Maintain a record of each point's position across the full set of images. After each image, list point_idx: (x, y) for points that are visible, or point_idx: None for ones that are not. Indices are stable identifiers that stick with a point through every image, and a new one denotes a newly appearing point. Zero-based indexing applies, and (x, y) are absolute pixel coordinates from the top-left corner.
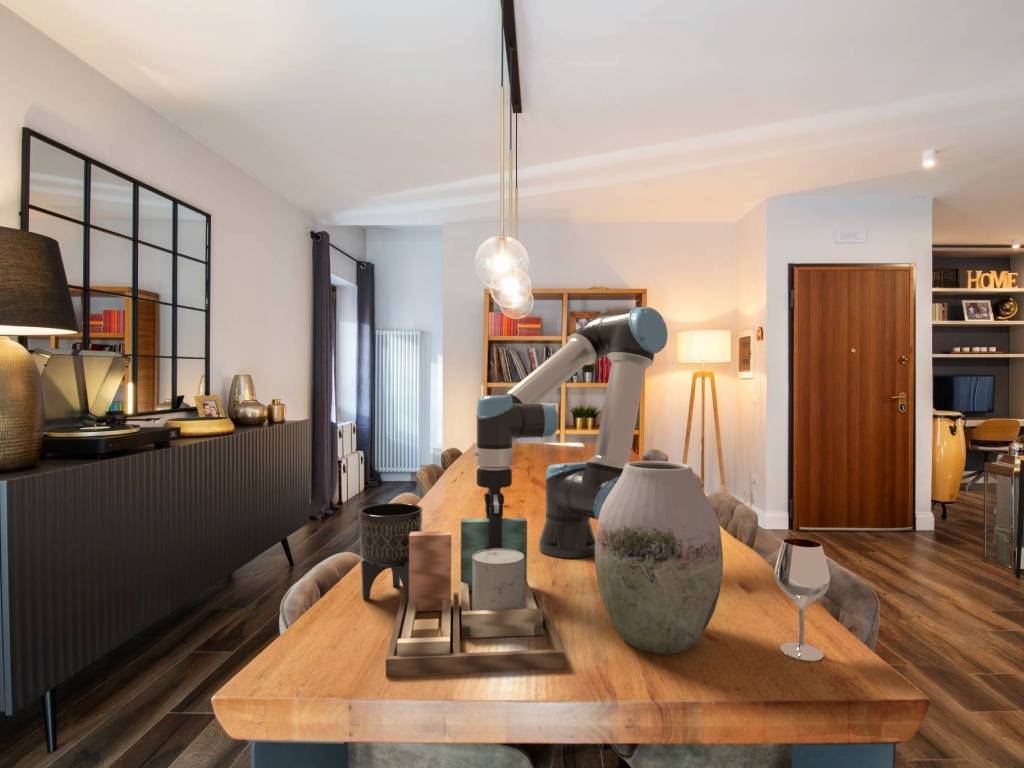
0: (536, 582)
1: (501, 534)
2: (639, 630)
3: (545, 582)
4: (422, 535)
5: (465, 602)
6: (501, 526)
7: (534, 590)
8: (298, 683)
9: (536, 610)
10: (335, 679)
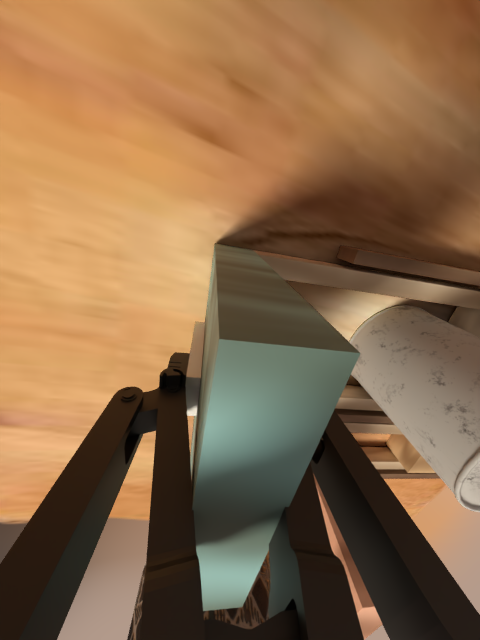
0: (194, 198)
1: (365, 455)
2: None
3: (199, 165)
4: (369, 634)
5: (340, 402)
6: (396, 502)
7: (354, 261)
8: (405, 506)
9: None
10: (416, 489)
